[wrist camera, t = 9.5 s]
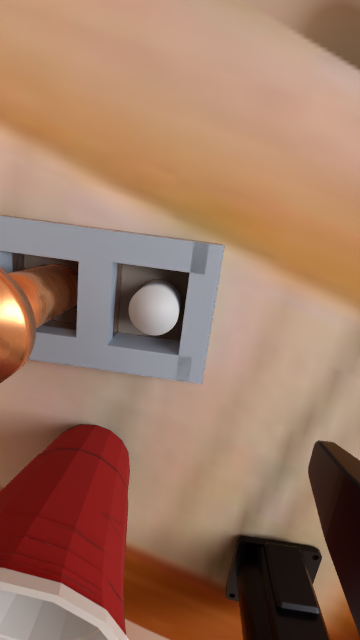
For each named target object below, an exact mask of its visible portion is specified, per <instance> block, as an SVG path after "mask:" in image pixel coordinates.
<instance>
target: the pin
mask: <svg viewBox="0 0 360 640" xmlns="http://www.w3.org/2000/svg"><path fill="white" fill-rule="evenodd" d="M77 299H78V277H77V275H76V274H75V273H74V272H73V271H72V270H71V269H70V268H68V267H66V266H64V265H61V264H50V265H45V266H40V267H35V268H30V269H26V270H21V271H16V272H11V273H7V272H6V271H4V270H3V269H2V268H0V383H1V382H2V381H4V380H5V379H7V378H8V377H9V376H11V375H12V374H13V373H15V372H16V371H17V370H19V369H20V368H21V367H22V366H23V365H24V364H25V362H26V361H27V360H28V358H29V357H30V355H31V353H32V350H33V348H34V344H35V339H36V328H38V327H39V326H41V325H43V324H44V323H46V322H48V321H50V320H51V319H53V318H55V317H56V316H58V315H60V314H62V313H63V312H65V311H67V310H68V309H70V308H72V307H73V306H75V305H76V304H77Z"/></svg>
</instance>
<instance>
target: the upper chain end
mask: <svg viewBox="0 0 360 640" xmlns="http://www.w3.org/2000/svg"><path fill="white" fill-rule="evenodd" d="M224 247H225V246H224V245H222V244H216V243H208V242H201V241H193V240H186V239H178V238H170V237H163V236H155V235H148V234H140V233H133V232H125V231H114V230H106V229H99V228H91V227H84V226H76V225H69V224H61V223H54V222H46V221H39V220H31V219H24V218H16V217H8V216H1V215H0V268H2V269H3V270H4V271H6V272H7V273H11V272H13V265H12V252H13V253H21V254H28V255H35V256H43V257H50V258H58V259H65V260H72V261H79V267H78V299H77V330H71V329H64V328H57V327H50V326H42V325H41V326H39V327H38V328H36V339H35V344H34V348H33V350H32V353H31V355H30V357H29V358H28V359H30V360H37V361H44V362H51V363H58V364H65V365H72V366H79V367H86V368H92V369H99V370H106V371H113V372H120V373H127V374H134V375H141V376H148V377H155V378H162V379H169V380H176V381H183V382H190V383H197V384H202V381H203V375H204V369H205V363H206V357H207V351H208V345H209V338H210V332H211V326H212V320H213V314H214V308H215V302H216V296H217V290H218V284H219V278H220V272H221V265H222V259H223V253H224ZM117 263H122V264H130V265H137V266H144V267H152V268H159V269H167V270H174V271H181V272H189V273H190V274H189V282H188V289H187V297H186V304H185V311H184V319H183V326H182V333H181V341H176V340H169V339H161V338H154V337H147V336H140V335H133V334H126V333H119V332H117V334H116V335H115V336H114V337H113V323H114V308H115V293H116V278H117ZM180 308H181V297H180V294H179V292H178V290H177V289H176V288H175V287H174V286H173V285H172V284H171V283H169V282H166V281H163V280H154V281H150V282H148V283H147V284H145V285H144V286H143V287H142V288H141V289H140V290H139V291H138V292H137V293H135V295H134V296H133V297H132V299H131V301H130V304H129V316H130V319H131V321H132V323H133V325H134V326H135V327H136V328H137V329H138V330H139V331H141V332H143V333H145V334H148V335H161V334H164V333H166V332H168V331H170V330H171V329H172V328H173V327H174V325H175V324H176V322H177V319H178V316H179V312H180Z"/></svg>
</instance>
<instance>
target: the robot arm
mask: <svg viewBox="0 0 360 640" xmlns="http://www.w3.org/2000/svg"><path fill="white" fill-rule="evenodd" d="M308 474H309V479H310V483H311V487H312V491H313V495H314V499H315V503H316V507H317V511H318V515H319V519H320V523H321V527H322V530H323V534H324V537H325V541H326V544H327V547H328V550H329V553H330V555H331V558H332V561H333V564H334V566H335V569H336V572H337V575H338V578H339V580H340V583H341V586H342V589H343V592H344V594H345V597H346V600H347V603H348V605H349V608H350V611H351V614H352V617H353V619H354V622H355V625H356V628H357V630H358V633H359V636H360V460H358V459H357V458H355V457H354V456H352V455H351V454H350V453H348V452H347V451H345V450H344V449H342V448H341V447H340V446H338V445H337V444H335V443H333V442H328V441H320V440H319V441H317V442H316V443H315V444H314V447H313V451H312V455H311V459H310V463H309V467H308ZM321 559H322V556H321V553H320V551H319V549H318V548H314V547H308V546H302V545H295V544H289V543H282V542H276V541H269V540H263V539H256V538H250V537H240V538H239V539H238V540H237V544H236V548H235V553H234V557H233V561H232V565H231V569H230V573H229V577H228V582H227V586H226V597H227V598H228V599H230V600H236V601H239V606H240V615H241V624H242V633H243V640H330V638H329V635H328V631H327V628H326V625H325V622H324V619H323V616H322V613H321V610H320V607H319V604H318V601H317V597H316V594H315V591H314V588H313V582H314V579H315V576H316V573H317V571H318V568H319V565H320V562H321Z"/></svg>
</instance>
